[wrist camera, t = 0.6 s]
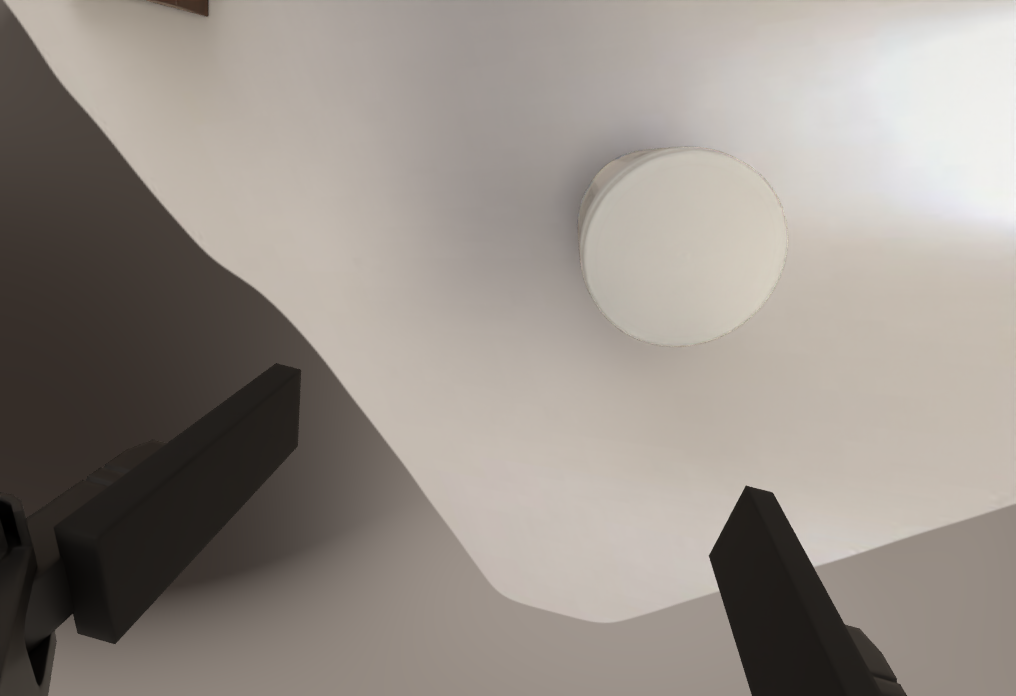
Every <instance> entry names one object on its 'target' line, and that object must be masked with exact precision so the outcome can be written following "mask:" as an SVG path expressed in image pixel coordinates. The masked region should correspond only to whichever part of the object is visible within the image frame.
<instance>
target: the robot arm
mask: <svg viewBox="0 0 1016 696" xmlns="http://www.w3.org/2000/svg"><path fill="white" fill-rule="evenodd" d="M300 381H301V370H300V369H296V368H292V367H288V366H285V365H280V364H277V363H276V364H274V365H273V366H272V367H270V368H269V369H268V370H266V371H265V372H263V373H262V374H261V375H260V376H258V377H257V378H255V379H254V380H253V381H251V382H250V383H249V384H247V385H246V386H244V387H243V388H242V389H241V390H239V391H238V392H236V393H235V394H234V395H232V396H231V397H229V398H228V399H227V400H226V401H224V402H223V403H221V404H220V405H219V406H217V407H216V408H214V409H213V410H212V411H210V412H209V413H208V414H206V415H205V416H204V417H202V418H201V419H200V420H198V421H197V422H195V423H194V424H193V425H191V426H190V427H189V428H187V429H186V430H185V431H183V432H182V433H181V434H179V435H178V436H176V437H175V438H174V439H173V440H171V441H170V442H168V443H163V442H159V441H156V440H151V441H148V442H146V443H143V444H140V445H138V446H135V447H133V448H130V449H127V450H126V451H124V452H123V453H121V454H120V455H118V456H117V457H115V458H114V459H112V460H111V461H110V462H108V463H106V464H105V466H104V467H103V468H99V469H98V470H96V471H95V472H93V473H92V474H90V475H89V476H87V479H86V480H82V481H80V482H79V483H77V484H76V485H74V486H73V487H71V488H70V489H68V490H67V491H65V492H64V493H63V494H61V495H60V496H58V497H57V498H55V499H54V500H53V501H51V502H50V503H48V504H46V505H45V506H44V507H42V508H41V509H39V510H38V511H36V512H35V513H33V514H32V515H30V516H29V517H27V518H26V516H25V512H24V508H23V504H22V501H21V500H20V499H18V498H17V497H15V496H14V495H12V494H7V493H1V492H0V696H48V692H49V686H50V680H51V672H52V667H53V661H54V654H55V648H56V642H57V641H56V635H55V629H56V628H57V627H59V626H60V625H61V624H62V623H63V622H64V621H65V620H66V619H67V618H68V617H69V616H70V615H71V614H73V615H74V620H75V624H76V628H77V633H78V634H81V635H85V636H88V637H92V638H96V639H99V640H103V641H106V642H109V643H113V644H116V643H117V641H119V639H120V638H121V637H122V636H123V635H124V634H125V633H126V632H127V631H128V630H129V628H130V627H131V626H132V625H133V624H134V623H135V622H136V621H137V620H138V619H139V618H140V617H141V615H142V614H143V613H144V612H145V611H146V610H147V609H148V608H149V607H150V606H151V605H152V604H153V603H154V601H155V600H156V599H157V598H158V597H159V596H160V595H161V594H162V593H163V592H164V590H166V588H167V587H168V586H169V585H170V584H171V583H172V582H173V581H174V580H175V579H176V578H177V577H178V575H179V574H180V573H181V572H182V571H183V570H184V569H185V568H186V567H187V566H188V565H189V563H190V562H191V561H192V560H193V559H194V558H195V557H196V556H197V555H198V554H199V553H200V552H201V551H202V549H203V548H204V547H205V546H206V545H207V544H208V543H209V542H210V541H211V540H212V538H213V537H214V536H215V535H216V534H217V533H218V532H219V531H220V530H221V529H222V527H224V526H225V524H226V523H227V522H228V521H229V520H230V519H231V518H232V517H233V516H234V514H236V513H237V511H238V510H239V509H240V508H241V507H242V506H243V505H244V504H245V503H246V502H247V500H249V498H250V497H251V496H252V495H253V494H254V493H255V491H257V490H258V489H259V488H260V486H261V485H262V484H263V483H264V482H265V481H266V480H267V479H268V478H269V477H270V476H271V475H272V474H273V472H274V471H275V470H276V469H277V468H278V467H279V466H280V465H281V464H282V463H283V462H284V460H285V459H286V458H287V457H288V456H289V455H290V454H291V453H292V452H293V451H294V449H296V447H297V446H298V429H299V427H298V426H299V405H300ZM709 558H710V561H711V564H712V567H713V571H714V574H715V577H716V580H717V584H718V587H719V590H720V593H721V597H722V600H723V603H724V606H725V609H726V613H727V616H728V619H729V623H730V626H731V629H732V632H733V636H734V639H735V642H736V645H737V649H738V652H739V655H740V658H741V662H742V665H743V668H744V671H745V675H746V678H747V681H748V684H749V688H750V691H751V694H752V696H907V695H906V693H905V692H904V690H903V689H902V687H901V685H900V684H898V683H897V678H896V676H895V675H894V673H893V671H892V670H891V668H890V666H889V665H888V663H887V661H886V659H885V658H884V656H883V654H882V653H881V652H880V651H879V649H878V648H877V647H876V646H875V645H874V644H873V643H872V642H871V641H870V640H869V639H868V637H867V636H866V635H865V634H864V633H863V632H862V631H861V630H860V629H859V628H855V627H852V626H848V625H845V624H844V623H843V621H842V619H841V617H840V615H839V613H838V611H837V610H836V608H835V606H834V604H833V603H832V600H831V599H830V597H829V595H828V593H827V591H826V589H825V588H824V586H823V584H822V582H821V580H820V578H819V577H818V575H817V573H816V571H815V569H814V567H813V565H812V564H811V562H810V560H809V558H808V556H807V554H806V553H805V551H804V549H803V547H802V545H801V543H800V542H799V540H798V538H797V536H796V534H795V532H794V531H793V529H792V527H791V525H790V523H789V521H788V520H787V518H786V516H785V514H784V512H783V510H782V508H781V507H780V505H779V503H778V501H777V499H776V497H775V496H774V494H773V493H772V492H769V491H765V490H761V489H757V488H753V487H749V486H745V488H744V490H743V492H742V494H741V496H740V498H739V500H738V502H737V503H736V505H735V507H734V509H733V511H732V513H731V515H730V517H729V519H728V521H727V522H726V524H725V526H724V528H723V530H722V532H721V534H720V536H719V538H718V540H717V541H716V543H715V545H714V547H713V549H712V551H711V553H710V555H709Z"/></svg>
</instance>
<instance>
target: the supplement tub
mask: <svg viewBox="0 0 1016 696" xmlns="http://www.w3.org/2000/svg"><path fill="white" fill-rule="evenodd" d="M578 239H579V255H580V264H581V270H582V274H583V278H584V281H585V284H586V287H587V289H588V291H589V293H590V295H591V297H592V299H593V300H594V302H595V304H596V305H597V307H598V308H599V310H600V311H601V312H602V314H603V315H604V316H605V317H606V318H607V319H608V320H609V321H610V322H611V323H612V324H613V325H614V326H615V327H617V328H618V329H619V330H621V331H622V332H624V333H625V334H627V335H629V336H631V337H633V338H635V339H637V340H640V341H643V342H646V343H649V344H653V345H659V346H666V347H684V346H693V345H698V344H702V343H706V342H709V341H712V340H715V339H717V338H719V337H722V336H724V335H726V334H728V333H730V332H731V331H733V330H735V329H736V328H738V327H739V326H741V325H742V324H743V323H745V322H746V321H748V320H749V319H750V318H751V317H752V316H753V315H754V314H755V313H756V312H757V311H758V310H759V309H760V308H761V307H762V306H763V304H764V303H765V302H766V300H767V299H768V298H769V296H770V295H771V293H772V292H773V290H774V288H775V286H776V284H777V282H778V280H779V278H780V276H781V273H782V270H783V267H784V264H785V260H786V254H787V247H788V231H787V222H786V218H785V214H784V211H783V208H782V205H781V203H780V201H779V198H778V197H777V195H776V193H775V191H774V190H773V188H772V187H771V186H770V184H769V183H768V182H767V181H766V179H765V178H764V177H763V176H762V175H761V174H759V173H758V172H757V171H756V170H755V169H753V168H752V167H750V166H749V165H747V164H746V163H744V162H742V161H740V160H738V159H736V158H735V157H733V156H731V155H728V154H726V153H723V152H720V151H717V150H713V149H708V148H702V147H672V148H657V149H645V150H638V151H634V152H630V153H627V154H625V155H622V156H620V157H618V158H616V159H615V160H613V161H612V162H610V163H609V164H607V165H606V166H605V167H604V168H602V169H601V170H600V171H599V173H598V174H597V175H596V176H595V177H594V178H593V180H592V181H591V183H590V184H589V186H588V188H587V189H586V191H585V194H584V196H583V198H582V201H581V204H580V208H579V213H578Z"/></svg>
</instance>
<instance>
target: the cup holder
mask: <svg viewBox="0 0 1016 696" xmlns="http://www.w3.org/2000/svg"><path fill="white" fill-rule="evenodd" d="M146 1H150V2H154V3H158V4H161V5H165V6H169V7H173V8H176V9H180V10H184V11H188V12H192V13H195V14H199V15H203V16H208V0H146Z"/></svg>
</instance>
